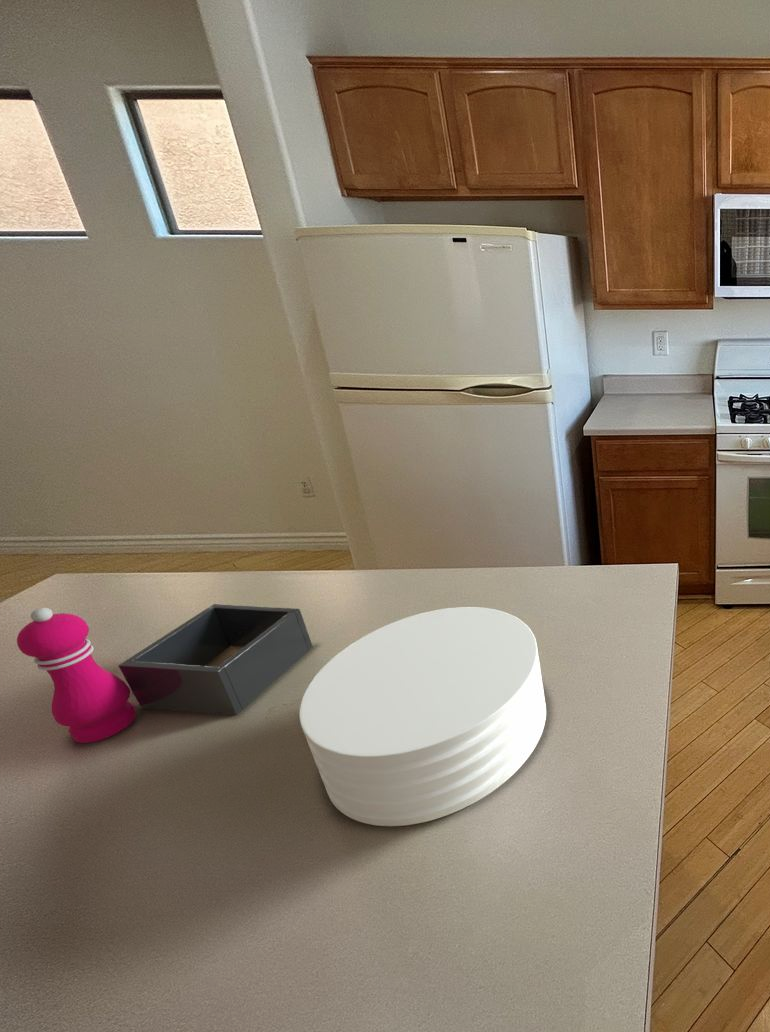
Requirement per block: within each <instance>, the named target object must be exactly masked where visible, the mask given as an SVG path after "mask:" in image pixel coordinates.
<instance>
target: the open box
mask: <svg viewBox="0 0 770 1032" xmlns="http://www.w3.org/2000/svg"><path fill="white" fill-rule="evenodd" d="M231 647H236V648H237V647H238V648H240V649H239V650H237V651H236V652H235V653H234V654H232V655H231V656H230V657H228V658H227V659H226V660H225V661H223V662H222V663H220V664H219V665H218V666H210V665H209V666H208V664H209V663H210V662H212V661H214V660H215V659H217V657H219V656H220V655H222V654H223V653H224V652H226V651H227V650H228V649H230V648H231ZM313 648H314V645H313V643H312V641H311V637H310V635H309V631H308V628H307V626H306V623H305V621H304V618H303V615H302V612H301V609H300V608H292V607H275V606H273V607H272V606H259V605H257V606H256V605H240V604H222V603H221V604H220V603H214V604H212V605H210V606H209V607H207V608H205V609H204V610H202V611H201V612H199V613H198V614H196V615H194V616H193V617H191V618H189V619H188V620H187V621H185V622H184V623H182V624H181V625H179V626H177V627H176V628H174V629H172V630H171V631H170V632H167V633H166V634H165V635H163V636H162V637H160V638H159V639H157V640H156V641H154V642H152V643H151V644H149V645H148V646H146V647H144V648H143V649H141V650H140V651H138V652H137V653H135V654H134V655H132V656H131V657H129V658H128V659H126V660H124V661H123V662H121V663H120V664H118V665H117V666H118V668H119V670H120V672H121V674H122V676H123V677H124V679H125V682H126V684H127V686H128V687H129V689H130V691H131V692H132V694H133V696H134V698H135V700H136V702H137V704H138V705H139V707H140V708H141V709H148V710H164V711H176V712H193V713H206V714H207V713H208V714H220V715H236V716H237V715H238V714H240V712H242V711H243V710H244V709H245V708H246V707H247V706H248V705H249V704H251V703H252V702H253V701H254V700H256V698H258V696H260V695H261V694H262V693H263V692H264V691H266V689H268V688H269V687H270V686H271V685H273V683H274V682H276V681H277V680H278V679H279V678H280V677H282V675H284V674H285V673H286V672H287V671H288V670H290V668H292V667H293V666H294V665H295V664H296V663H298V662H299V661H300V660H301V659H302V658H303V657H304V656H306V654H308V653H309V651H311V650H312V649H313Z"/></svg>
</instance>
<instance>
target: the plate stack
mask: <svg viewBox="0 0 770 1032" xmlns="http://www.w3.org/2000/svg"><path fill="white" fill-rule="evenodd" d="M546 720H547V705H546V698H545V692H544V685H543V679H542V671H541V663H540V657H539V651H538V644H537V639H536V636H535V634H534V633H533V631H532V630H531V628H530V627H529V626H528V625H527V624H526V623H525V622H524V621H522V620H521V618H518V617H517V616H515V615H513V614H512V613H508V612H506V611H503V610H500V609H494V608H489V607H479V606H459V607H447V608H439V609H435V610H430V611H426V612H421V613H417V614H413V615H410V616H407V617H404V618H401V619H399V620H396V621H393V622H391V623H388V624H386V625H384V626H382V627H379V628H377V629H375V630H373V631H371V632H369V633H367V634H366V635H364V636H362V637H360V638H359V639H357V640H355V641H354V642H352V643H350V644H348V646H346V647H345V648H343V649H342V650H341V651H339V652H338V653H337V654H336V655H334V656H333V657H332V658H331V659H329V660H328V662H326V663H325V664H324V665H323V667H322V668H321V669H320V670H319V671H318V672H317V673H316V674H315V676H314V677H313V678H312V680H311V681H310V683H309V684H308V686H307V687H306V689H305V692H304V693H303V696H302V698H301V702H300V705H299V722H300V726H301V729H302V732H303V734H304V736H305V738H306V741H307V745H308V748H309V749H310V752H311V754H312V757H313V760H314V763H315V765H316V767H317V770H318V773H319V775H320V778H321V781H322V782H323V786H324V788H325V791H326V793H327V796H328V798H329V800H330V801H331V803H332V804H333V805H334V807H335V808H336V809H337V810H338V811H339V812H340V813H342V814H343V815H344V816H346V817H348V818H350V819H352V820H354V821H357V822H359V823H362V824H365V825H366V824H367V825H371V826H380V827H403V826H410V825H417V824H423V823H426V822H430V821H434V820H437V819H441V818H444V817H446V816H449V815H452V814H454V813H456V812H459V811H461V810H463V809H466V808H467V807H470V806H471V805H473V804H475V803H476V802H479V801H480V800H482V799H484V798H485V797H486V796H488V795H490V794H491V793H492V792H494V791H495V790H497V789H498V788H499V787H501V786H502V785H503V784H505V783H506V782H507V780H509V779H510V778H511V777H512V776H514V775H515V774H516V772H517V771H518V770H519V769H520V768H521V767H522V766H523V765H524V764H525V763H526V761H527V760H528V759H529V757H530V756H531V754H532V753H533V751H534V750H535V748H536V747H537V745H538V743H539V741H540V739H541V737H542V734H543V731H544V728H545V724H546Z"/></svg>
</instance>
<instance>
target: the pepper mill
mask: <svg viewBox="0 0 770 1032" xmlns="http://www.w3.org/2000/svg"><path fill="white" fill-rule="evenodd" d="M30 619H31V620H32V621H31V622H29V623H27V624H26V625H24V627H22V629H21V630H20V632H18V635H17V637H16V645H17V648H18V649H19V650H20V652H21V653H22V654H24V655H25V656H28V657H32V658H34V659H33V661H34V663H35V665H37V669H38V670H41V671H46V672H47V674H48V675H49V677H50V678H51V681H52V683H53V688H54V689H53V696H52V699H51V714H52V717H53V720H54V721H55V723H57V724H58V725H60V726H63V727H66V728H68V733H69V734H70V736H71V738H72V739H73V741H75V742H76V743H80V744H90V743H95V742H99V741H102V740H104V739H107V738H110V737H112V736H114V735H116V734H118V733H119V732H121V731H122V730H124V729H126V728H127V727H128V726H129V725H131V724H132V723H133V722H134V720H135V719H136V717H137V710H136V707H134V705H133V703H132V702H131V701H130V700H129V699H130V696H131V688H130V687H129V685H128V683H127V682H126V681H124V680H123V679H121V678H120V677H119V676H117V675H115V674H114V673H111V672H109V670H106V669H105V668H103V667H102V666H100V665H99V664H98V663H97V662H96V661H95V659H94V657H93V655H92V653H93V651H94V646H93V645H92V644H91V641H90V640H89V638H87V637H88V635H89V632H90V629H89V628H90V627H89V625H88V624H87V622H86V621H85V620H84V619H83V618H82V617H80V616H78V615H76V614H74V613H66V612H64V613H63V612H61V613H60V612H59V613H53V610H52V609H50V608H48V607H40V608H36V609H35V610H33V611H32V612H31V614H30Z"/></svg>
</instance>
